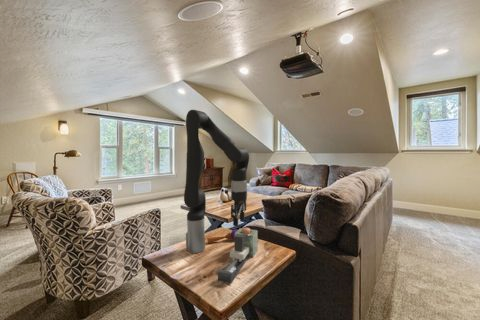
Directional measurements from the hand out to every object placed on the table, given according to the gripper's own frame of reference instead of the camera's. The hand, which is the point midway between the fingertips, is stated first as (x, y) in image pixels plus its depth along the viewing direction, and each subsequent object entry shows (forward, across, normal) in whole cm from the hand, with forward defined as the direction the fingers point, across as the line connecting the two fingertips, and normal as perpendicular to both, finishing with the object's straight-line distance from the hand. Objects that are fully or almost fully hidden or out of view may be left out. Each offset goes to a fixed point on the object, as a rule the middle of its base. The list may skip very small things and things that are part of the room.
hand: (239, 222), depth 105 cm
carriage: (+17, 0, 0) cm, 17 cm away
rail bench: (+19, +2, 0) cm, 19 cm away
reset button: (+11, -10, 0) cm, 15 cm away
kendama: (+20, -20, -17) cm, 33 cm away
